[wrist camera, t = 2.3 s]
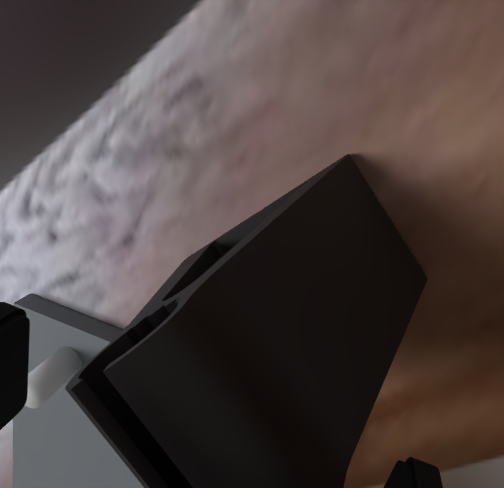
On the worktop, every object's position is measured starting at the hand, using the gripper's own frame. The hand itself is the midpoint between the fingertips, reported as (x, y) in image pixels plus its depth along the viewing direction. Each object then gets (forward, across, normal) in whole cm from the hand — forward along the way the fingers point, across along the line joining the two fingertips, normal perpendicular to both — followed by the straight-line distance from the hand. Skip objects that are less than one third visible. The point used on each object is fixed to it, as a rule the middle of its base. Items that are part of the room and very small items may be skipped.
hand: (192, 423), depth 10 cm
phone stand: (+10, -1, 0) cm, 10 cm away
